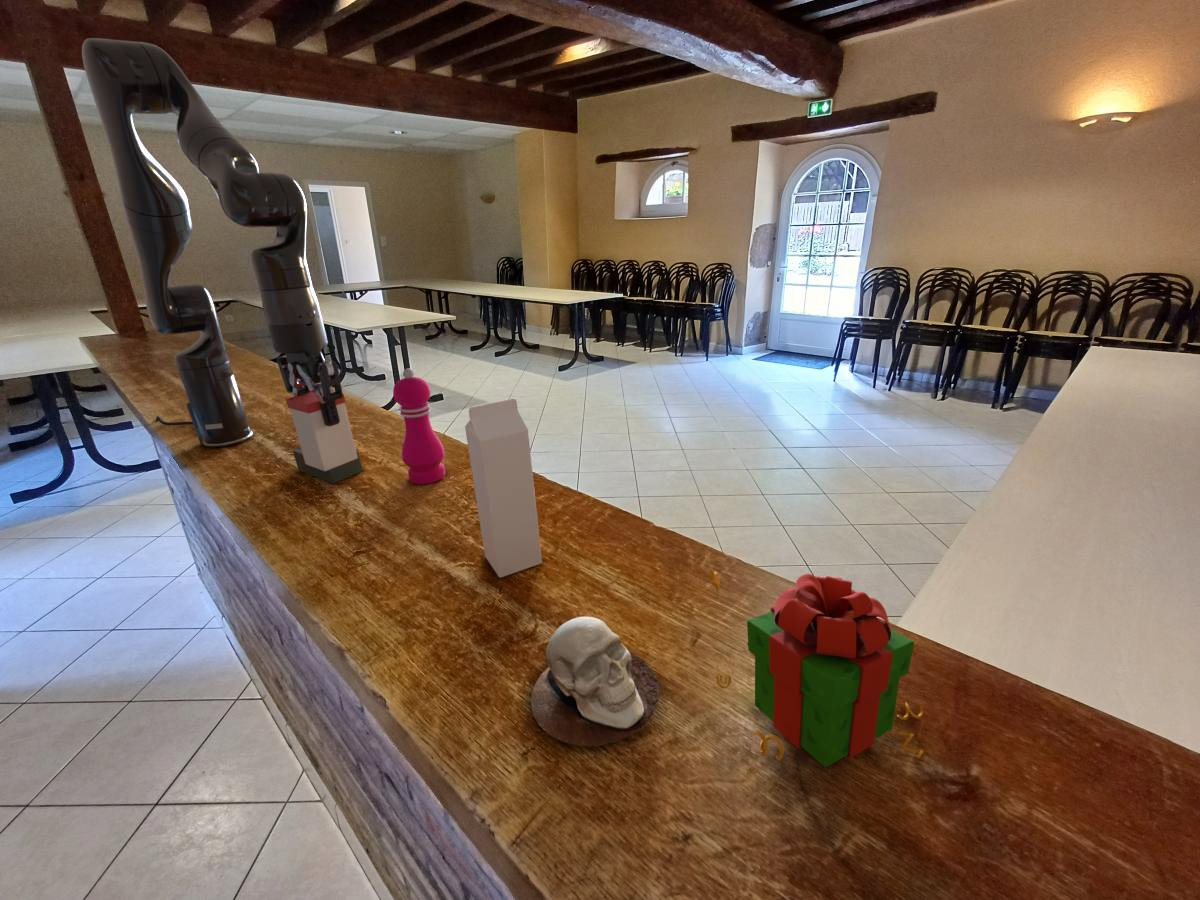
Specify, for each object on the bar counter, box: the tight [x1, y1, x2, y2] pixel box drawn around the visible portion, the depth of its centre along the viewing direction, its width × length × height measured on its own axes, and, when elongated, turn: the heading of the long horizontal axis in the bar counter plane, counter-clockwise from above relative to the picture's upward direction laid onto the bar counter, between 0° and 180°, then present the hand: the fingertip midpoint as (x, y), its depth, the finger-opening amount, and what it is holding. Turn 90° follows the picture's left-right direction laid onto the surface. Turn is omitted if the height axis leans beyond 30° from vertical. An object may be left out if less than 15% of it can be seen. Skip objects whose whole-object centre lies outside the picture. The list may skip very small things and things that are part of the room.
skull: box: [530, 616, 660, 747], centre depth 51 cm, size 12×10×10 cm
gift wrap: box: [709, 570, 925, 768], centre depth 45 cm, size 20×19×14 cm
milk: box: [464, 398, 543, 578], centre depth 69 cm, size 6×6×22 cm
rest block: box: [292, 447, 364, 484], centre depth 104 cm, size 6×12×4 cm, turn 55°
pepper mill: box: [392, 368, 446, 485], centre depth 96 cm, size 7×7×20 cm
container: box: [285, 390, 358, 471], centre depth 91 cm, size 12×6×12 cm
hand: (321, 421), depth 90 cm, fingers closed on container, 6 cm apart
